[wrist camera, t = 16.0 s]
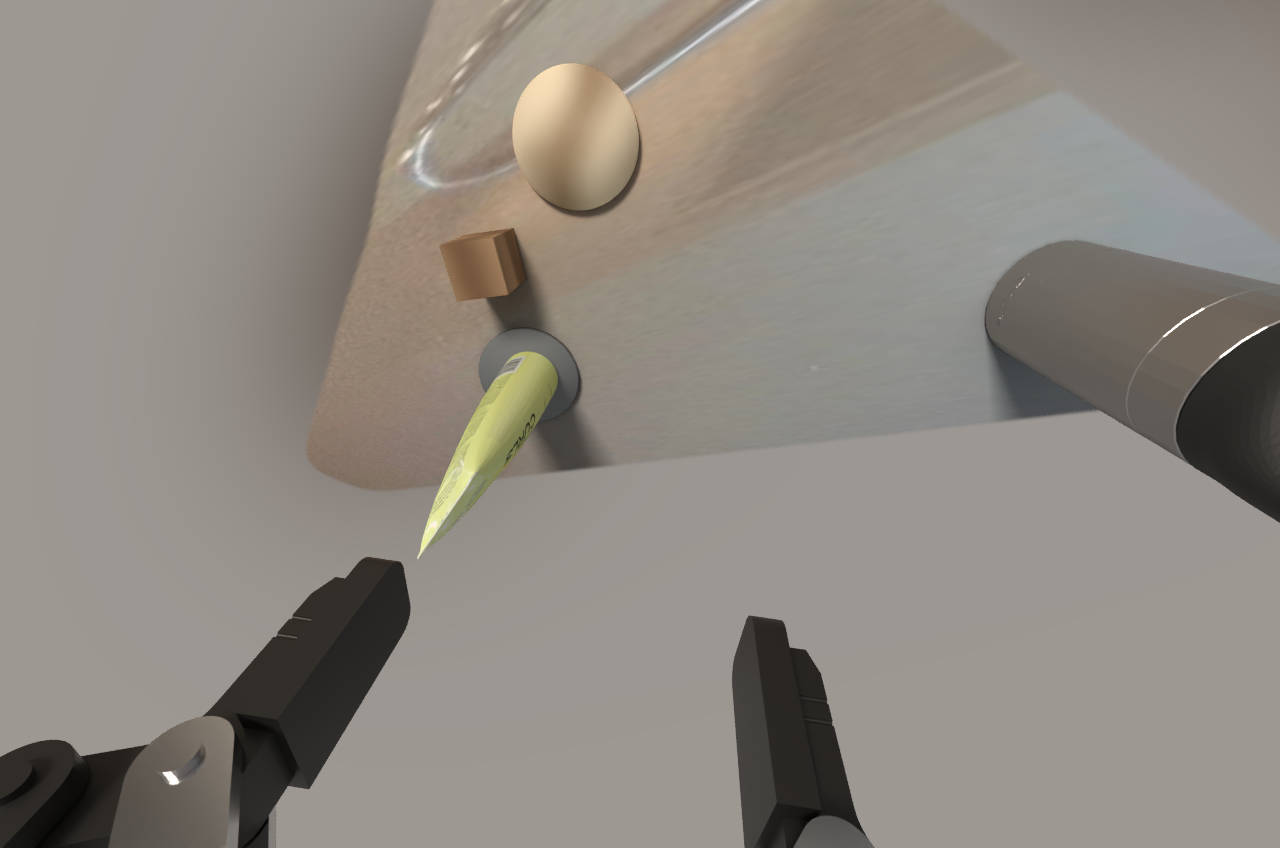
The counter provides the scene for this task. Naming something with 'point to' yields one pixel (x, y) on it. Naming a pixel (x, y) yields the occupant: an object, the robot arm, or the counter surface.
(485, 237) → the walnut block
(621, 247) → the counter surface
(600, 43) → the counter surface
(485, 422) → the tube
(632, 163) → the pad
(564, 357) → the pad
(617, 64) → the counter surface
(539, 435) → the counter surface
